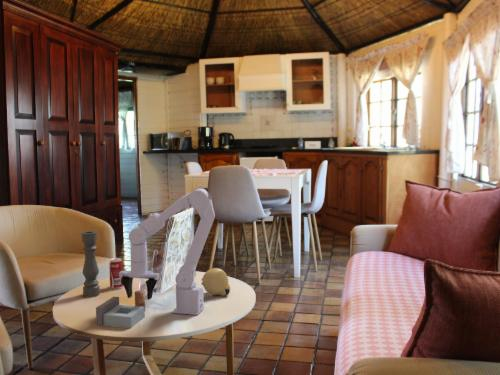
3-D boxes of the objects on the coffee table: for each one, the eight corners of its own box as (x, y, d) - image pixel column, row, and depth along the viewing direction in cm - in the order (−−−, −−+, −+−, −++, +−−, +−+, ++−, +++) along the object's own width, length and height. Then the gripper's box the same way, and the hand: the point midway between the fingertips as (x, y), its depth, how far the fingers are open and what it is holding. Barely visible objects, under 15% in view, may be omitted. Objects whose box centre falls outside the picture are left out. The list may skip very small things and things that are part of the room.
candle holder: (95, 297, 190) (93, 234, 188) (80, 296, 191) (77, 233, 189) (102, 292, 197) (100, 231, 194) (87, 291, 198) (85, 230, 195)
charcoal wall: (119, 313, 173) (119, 296, 172) (102, 326, 161) (101, 308, 161) (114, 313, 173) (113, 296, 173) (96, 325, 162) (95, 307, 161)
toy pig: (216, 307, 190) (237, 289, 189) (195, 285, 188) (216, 267, 188) (216, 298, 200) (236, 281, 199) (196, 277, 198) (216, 260, 197)
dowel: (146, 309, 177) (146, 290, 176) (142, 313, 173) (142, 293, 173) (137, 309, 177) (137, 290, 177) (133, 312, 174) (133, 293, 173)
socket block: (144, 318, 169) (144, 306, 169) (131, 329, 160) (131, 317, 159) (118, 315, 171) (117, 304, 171) (103, 326, 162) (103, 314, 161)
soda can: (111, 285, 206) (110, 257, 205) (124, 285, 206) (123, 257, 205) (108, 289, 201) (107, 260, 200) (121, 289, 201) (121, 260, 200)
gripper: (162, 259, 176) (163, 295, 177) (125, 256, 179) (126, 293, 180) (154, 263, 169) (155, 302, 170) (116, 261, 172) (116, 299, 174)
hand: (139, 297), depth 175 cm, fingers open, 7 cm apart
